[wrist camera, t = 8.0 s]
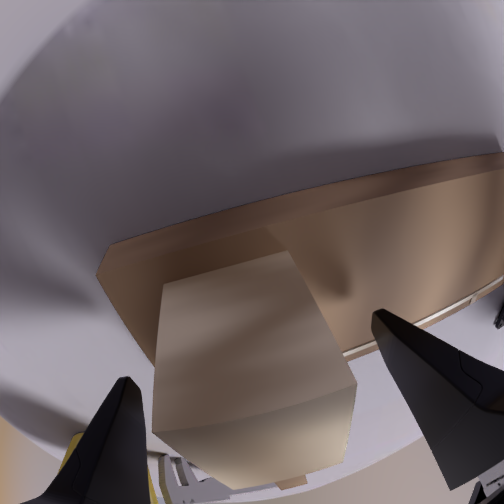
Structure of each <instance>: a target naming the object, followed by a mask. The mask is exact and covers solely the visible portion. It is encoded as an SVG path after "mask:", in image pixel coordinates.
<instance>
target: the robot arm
mask: <svg viewBox="0 0 504 504" xmlns="http://www.w3.org/2000/svg"><path fill="white" fill-rule="evenodd" d="M502 326H504V307H503V309H502V312H501V314H500V316H499V319H498V321H497V323H496V325H495V327H496V328H497V329H500V328H501V327H502ZM371 331H372V334H373V336H374V338H375V341H376V343H377V345H378V347H379V350H380V352H381V355H382V357H383V359H384V362H385V364H386V366H387V368H388V370H389V372H390V373H391V375H392V377H393V379H394V381H395V382H396V384H397V386H398V388H399V390H400V391H401V393H402V395H403V397H404V399H405V400H406V402H407V404H408V406H409V408H410V410H411V412H412V414H413V415H414V417H415V419H416V421H417V423H418V425H419V427H420V429H421V431H422V433H423V435H424V437H425V439H426V441H427V443H428V445H429V447H430V449H431V450H432V453H433V455H434V457H435V459H436V461H437V463H438V466H439V468H440V470H441V472H442V474H443V476H444V478H445V481H446V483H447V485H448V487H449V489H450V491H451V490H453V489H455V488H457V487H459V486H461V485H463V484H465V483H467V482H468V481H470V480H472V479H474V478H476V477H477V476H478V478H479V480H480V481H478V482H477V483H476V485H475V488H474V491H473V493H472V496H471V499H470V501H469V504H504V371H503V370H500V369H498V368H495V367H493V366H491V365H488V364H486V363H484V362H482V361H479V360H477V359H475V358H473V357H472V356H470V355H468V354H466V353H464V352H462V351H461V350H459V351H458V349H457V348H455V347H453V346H451V345H450V344H448V343H446V342H444V341H442V340H441V339H439V338H437V337H435V336H433V335H432V334H430V333H428V332H426V331H424V330H423V329H421V328H419V327H417V326H415V325H413V324H412V323H410V322H408V321H406V320H404V319H402V318H401V317H399V316H397V315H395V314H393V313H391V312H390V311H388V310H386V309H383V308H381V309H378V310H376V311H374V312H373V313H372V321H371ZM20 504H151V501H150V491H149V480H148V466H147V449H146V427H145V419H144V411H143V403H142V394H141V390H140V388H139V387H138V386H137V385H136V383H135V382H134V381H133V380H132V379H131V378H130V377H128V376H126V377H120V378H119V379H118V380H117V381H116V383H115V384H114V386H113V387H112V389H111V391H110V392H109V394H108V395H107V397H106V398H105V400H104V401H103V403H102V405H101V406H100V408H99V409H98V411H97V413H96V414H95V416H94V417H93V419H92V421H91V422H90V424H89V425H88V427H87V429H86V430H85V432H84V434H83V435H82V437H81V439H80V440H79V442H78V444H77V445H76V448H74V450H73V452H72V453H71V455H70V457H69V458H68V460H67V462H66V463H65V465H64V466H63V467H62V469H61V470H60V472H59V473H58V475H57V476H56V477H55V479H54V480H53V481H52V483H51V484H50V486H49V487H48V488H47V490H46V491H45V492H44V493H43V494H42V495H41V496H39V497H37V498H35V499H32V500H29V501H27V502H24V503H20Z"/></svg>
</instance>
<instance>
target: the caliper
mask: <svg viewBox="0 0 504 504" xmlns="http://www.w3.org/2000/svg"><path fill="white" fill-rule="evenodd" d="M175 463H176V470H177V473H178V476H179V479H180V482H181V484H182V486H178V484H177V480H176V477H175V474H174V471H173V468H172V465H171V461H170V457H169V455H165V456H162V457H160V458H159V459H158V468H159V486H160V489H161V492H162V495H163V498H164V500H165V503H166V504H202V503H210V502H217V501H224V500H228V499H230V496H234V495H241V494H247V493H253V492H258V491H263V490H268V489H272V488H277V487H278V486H277V485H276V484H275V483H269V484H264V485H259V486H254V487H248V488H242V489H236V490H233V489H231V488H229V487H228V486H226V485H224V484H223V483H221V482H219V481H218V480H216V479H215V478H211V477H210V478H207V479H204V480H202V481H199V482H198V480H197V479H196V477H195V475H194V473H193V472H192V470H191V468H190V466H189V465H188V463H187V461H186V459H185V458H181V457H180V458H178V459H175Z"/></svg>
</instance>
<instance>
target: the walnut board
mask: <svg viewBox="0 0 504 504" xmlns="http://www.w3.org/2000/svg"><path fill="white" fill-rule="evenodd" d="M286 250H288V252H289V253H290V255H291V257H292V259H293V261H294V262H295V264H296V266H297V268H298V270H299V272H300V274H301V275H302V277H303V279H304V281H305V283H306V285H307V286H308V288H309V290H310V292H311V294H312V296H313V298H314V300H315V301H316V303H317V305H318V307H319V309H320V311H321V313H322V315H323V317H324V319H325V320H326V322H327V324H328V326H329V328H330V330H331V332H332V334H333V336H334V338H335V340H336V342H337V344H338V346H339V348H340V349H341V351H342V353H343V355H344V357H345V359H346V361H347V362H348V361H351V360H353V359H356V358H358V357H361V356H364V355H366V354H369V353H371V352H374V351H376V350H378V349H379V347H378V345H377V343H376V341H375V338H374V336H373V334H372V331H371V321H372V313H373V312H374V311H376V310H378V309H381V308H383V309H386V310H388V311H390V312H391V313H393V314H395V315H397V316H399V317H401V318H402V319H404V320H406V321H408V322H410V323H412V324H413V325H415V326H417V327H419V328H421V329H425V328H427V327H429V326H431V325H433V324H435V323H437V322H439V321H441V320H443V319H445V318H446V317H448V316H450V315H452V314H454V313H456V312H458V311H459V310H461V309H463V308H465V307H467V306H468V305H470V304H472V303H474V302H475V301H477V300H479V299H480V298H482V297H484V296H485V295H487V294H488V293H490V292H492V291H493V290H495V289H496V288H498V287H500V286H501V285H503V283H504V152H500V153H493V154H486V155H479V156H472V157H466V158H459V159H453V160H447V161H441V162H435V163H430V164H424V165H418V166H413V167H408V168H403V169H397V170H392V171H387V172H382V173H377V174H373V175H368V176H363V177H358V178H354V179H349V180H345V181H340V182H336V183H331V184H327V185H322V186H318V187H314V188H310V189H305V190H301V191H297V192H293V193H289V194H285V195H281V196H277V197H273V198H269V199H265V200H261V201H258V202H254V203H250V204H246V205H242V206H239V207H235V208H231V209H228V210H224V211H220V212H217V213H213V214H210V215H206V216H203V217H199V218H196V219H192V220H189V221H185V222H182V223H179V224H175V225H172V226H169V227H165V228H162V229H159V230H156V231H152V232H149V233H146V234H143V235H140V236H136V237H133V238H130V239H127V240H124V241H121V242H118V243H115V244H112V245H110V246H109V248H108V250H107V252H106V254H105V256H104V258H103V260H102V262H101V264H100V266H99V269H98V271H97V273H96V277H97V279H98V281H99V282H100V284H101V286H102V288H103V289H104V291H105V293H106V295H107V296H108V298H109V300H110V301H111V303H112V305H113V306H114V308H115V310H116V311H117V313H118V314H119V316H120V318H121V319H122V321H123V322H124V324H125V325H126V327H127V328H128V330H129V331H130V333H131V334H132V336H133V337H134V339H135V340H136V342H137V343H138V345H139V346H140V348H141V349H142V351H143V352H144V353H145V355H146V356H147V358H148V359H149V360H150V362H151V363H152V364H153V366H154V367H155V359H156V347H157V336H158V326H159V317H160V308H161V300H162V292H163V285H164V284H166V283H170V282H173V281H177V280H181V279H185V278H188V277H192V276H196V275H199V274H203V273H207V272H210V271H214V270H218V269H221V268H225V267H228V266H232V265H236V264H239V263H243V262H247V261H250V260H254V259H257V258H261V257H265V256H268V255H272V254H275V253H279V252H283V251H286Z"/></svg>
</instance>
